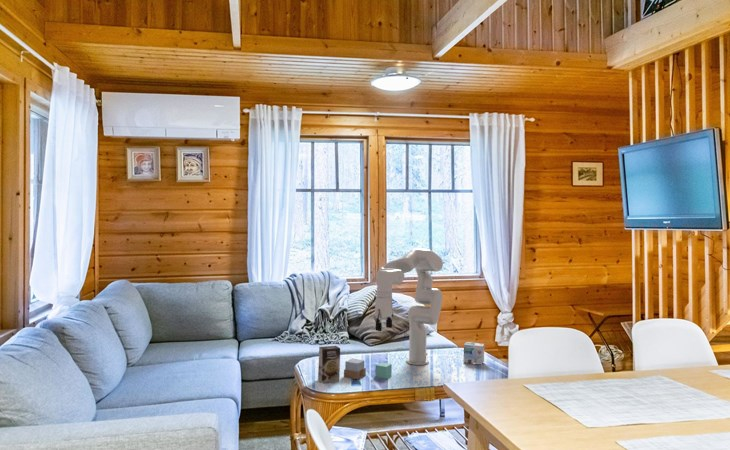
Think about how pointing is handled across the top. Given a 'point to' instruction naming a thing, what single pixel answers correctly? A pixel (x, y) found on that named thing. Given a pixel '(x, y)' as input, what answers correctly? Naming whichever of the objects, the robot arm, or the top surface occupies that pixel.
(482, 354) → the light bulb box
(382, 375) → the teal cube
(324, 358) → the coffee box
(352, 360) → the slate grey top block
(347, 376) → the walnut base block
